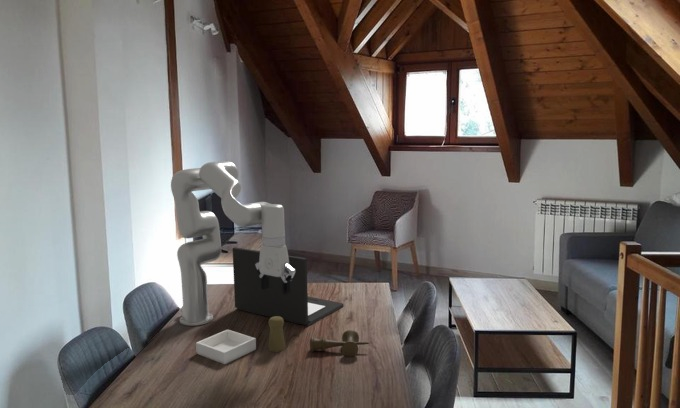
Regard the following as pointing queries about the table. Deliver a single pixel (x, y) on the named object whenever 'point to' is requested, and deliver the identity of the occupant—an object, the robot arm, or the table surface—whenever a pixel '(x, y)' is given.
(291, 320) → the laptop
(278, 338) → the cork
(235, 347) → the box
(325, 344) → the kendama
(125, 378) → the table surface
